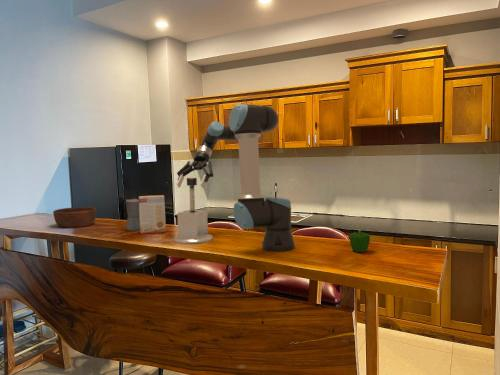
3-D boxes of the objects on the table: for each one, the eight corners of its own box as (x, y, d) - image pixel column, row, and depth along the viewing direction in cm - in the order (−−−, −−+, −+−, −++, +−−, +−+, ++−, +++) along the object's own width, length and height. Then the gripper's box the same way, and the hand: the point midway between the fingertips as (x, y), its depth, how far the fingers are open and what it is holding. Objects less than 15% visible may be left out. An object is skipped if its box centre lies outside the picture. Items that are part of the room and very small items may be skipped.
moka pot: (141, 231, 212) (140, 197, 210) (117, 230, 215) (115, 196, 213) (149, 228, 221) (147, 195, 219) (125, 227, 224) (124, 195, 222)
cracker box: (165, 230, 213) (164, 194, 212) (165, 232, 208) (164, 195, 206) (140, 232, 210) (139, 195, 208) (140, 234, 204) (138, 196, 202)
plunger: (203, 219, 190) (202, 177, 189) (196, 222, 183) (195, 178, 181) (189, 218, 193) (188, 177, 192) (181, 221, 185) (180, 178, 184)
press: (219, 236, 195) (218, 209, 194) (201, 245, 176) (200, 215, 175) (185, 234, 202) (185, 208, 200) (165, 242, 183) (164, 213, 182)
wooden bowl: (75, 221, 251) (74, 206, 251) (105, 222, 244) (104, 207, 243) (44, 228, 228) (43, 211, 227) (76, 229, 220) (76, 212, 219)
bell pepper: (354, 248, 167) (354, 226, 166) (372, 250, 161) (372, 228, 161) (346, 251, 160) (346, 229, 159) (364, 254, 155) (364, 231, 154)
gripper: (226, 160, 196) (214, 191, 183) (185, 161, 205) (171, 190, 192) (222, 150, 191) (209, 181, 178) (180, 151, 199) (165, 180, 187)
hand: (189, 186), depth 185 cm, fingers open, 13 cm apart
